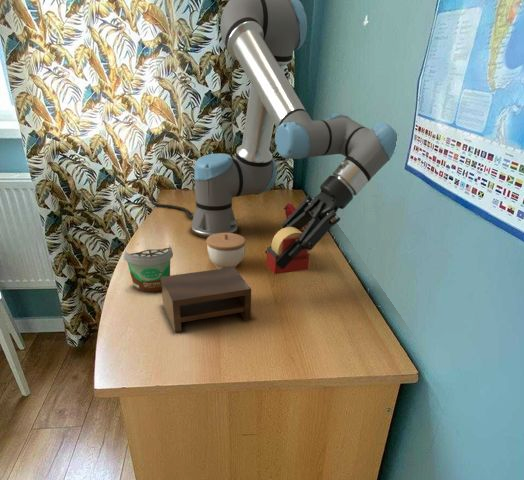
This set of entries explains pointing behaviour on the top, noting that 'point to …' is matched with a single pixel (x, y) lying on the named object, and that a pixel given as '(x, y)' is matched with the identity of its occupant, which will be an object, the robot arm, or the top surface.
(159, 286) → the food container
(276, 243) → the tape dispenser
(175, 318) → the shelf
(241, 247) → the trinket box
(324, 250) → the top surface
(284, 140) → the robot arm
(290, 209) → the decorative bird figurine
